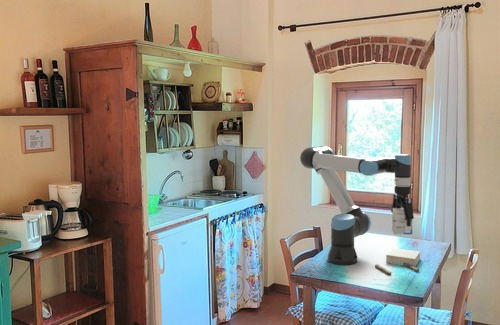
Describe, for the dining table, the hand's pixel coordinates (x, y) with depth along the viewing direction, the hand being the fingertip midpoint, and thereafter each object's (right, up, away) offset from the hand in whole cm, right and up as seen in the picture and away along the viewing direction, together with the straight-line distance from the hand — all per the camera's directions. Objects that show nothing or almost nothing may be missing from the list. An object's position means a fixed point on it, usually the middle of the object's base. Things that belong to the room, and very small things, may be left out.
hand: (401, 229), depth 229 cm
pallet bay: (-4, -19, -5) cm, 20 cm away
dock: (+3, -17, +8) cm, 19 cm away
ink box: (0, -2, 0) cm, 2 cm away
